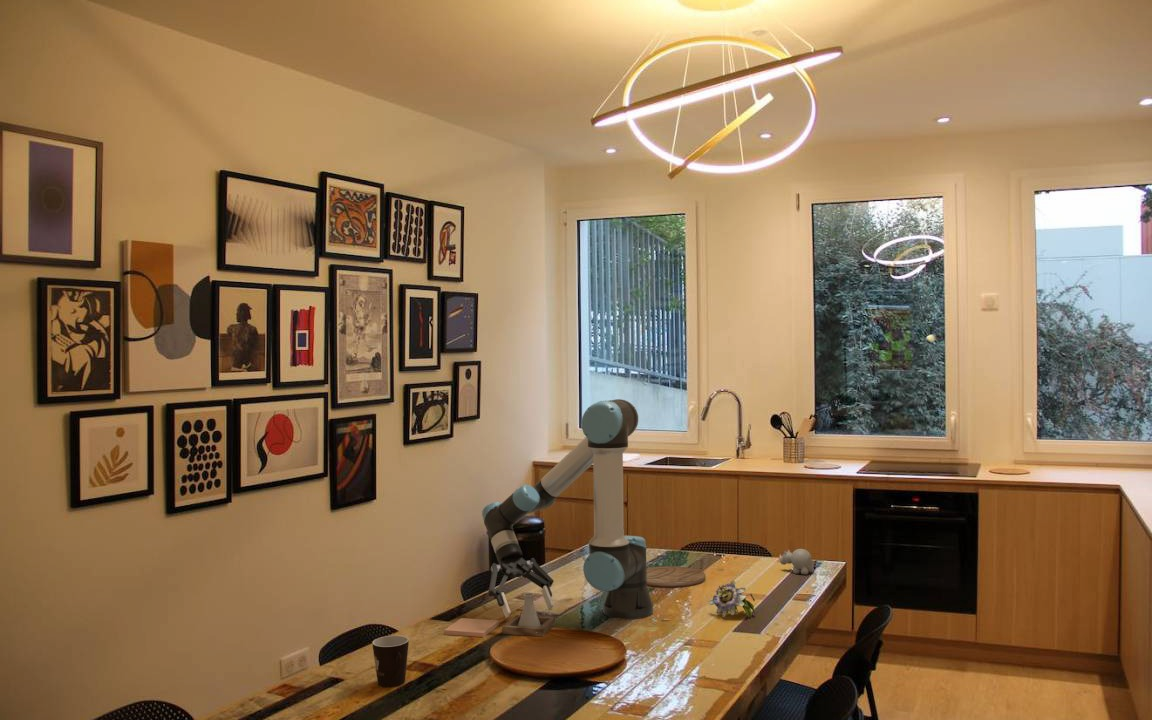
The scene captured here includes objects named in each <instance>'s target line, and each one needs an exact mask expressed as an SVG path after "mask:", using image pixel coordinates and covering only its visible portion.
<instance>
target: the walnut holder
mask: <svg viewBox="0 0 1152 720" xmlns="http://www.w3.org/2000/svg"><path fill="white" fill-rule="evenodd" d="M537 616H538V619H539V622H540V625H541V626H540V627H525V626H518V623H519V620H520V617H521V614H515V615H514V616H513V617H512V618H511V619H510V620H508V621H507V622H506V623H505V624H504V625H502V626H501V628H502V629H501V632H502V633H501V634H503V635H515V636H517V635H518V636H530V637H544V636H545V635H546V634H547V633H548V632H549V631H550V630H551V629H553V627H554V626H556V624H557V623H556V618H557V617H555V616H543V615H537ZM536 632H537V633H536Z"/></svg>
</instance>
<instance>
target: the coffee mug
mask: <svg viewBox="0 0 1152 720" xmlns="http://www.w3.org/2000/svg"><path fill="white" fill-rule="evenodd" d="M409 641H410V638H408V637H407V636H404V635H386V636H381V637H378V638H375V639H374V640H372V650H373V659H374V666H375V672H376V679H377V685H378V686H379V687H381V688H385V689H387V688H396V687H400V686H402V685H404V684H405V683H406V674H407V666H408V665H407V664H408V663H407V662H408V654H409V653H408V652H409Z"/></svg>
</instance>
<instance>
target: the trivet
mask: <svg viewBox="0 0 1152 720" xmlns="http://www.w3.org/2000/svg"><path fill="white" fill-rule="evenodd" d="M646 571H647V587H650V588H659V589H660V588H662V589H675V588H676V589H679V588H680V589H682V588H690V587H694V586H698V585H701V584H703V583H705V582H706V573H705V572H704V571H702V570H701V569H698V568H697V569H696V568H693V567H687V566H677V565H676V566H675V565H673V566H672V565H668V566H667V565H664V566H650V567H646Z"/></svg>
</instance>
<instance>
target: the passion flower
mask: <svg viewBox="0 0 1152 720" xmlns="http://www.w3.org/2000/svg"><path fill="white" fill-rule="evenodd" d="M745 591H746V587H745V586H744V587H739V588H737V586H736V581H735V580H734V579H733V580H731V581H730V583H727V584H722V585H721V586H720V585H718V588H717V589H716V590H715V593H716V594H714V595H713V597H712V599H711V600H709V601H708V602H707V604H708V605H714V606H715V607H716V614H717V615H718V614H721V617H722V618H721V619H724V618H727V616H728V613H729V614H730V615H731V616H734V615H735V614H736V612H739V610H738V608H737V607H742V608H743V610H744V612H745V614H746V616H747V617H748V618H749V619H752V615H753V614H754V615H755V614H756V612H755V611H756V610H755V606H754V605H753V603H752V602H750V601H749V600H747V597H748V596H750V597H751V598H752V601H753V602H755V601H756V598H755V597H754V595H753V593H749V594H746V595H745V594H743V593H744V592H745ZM752 611H753V612H752ZM752 613H753V614H752Z"/></svg>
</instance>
